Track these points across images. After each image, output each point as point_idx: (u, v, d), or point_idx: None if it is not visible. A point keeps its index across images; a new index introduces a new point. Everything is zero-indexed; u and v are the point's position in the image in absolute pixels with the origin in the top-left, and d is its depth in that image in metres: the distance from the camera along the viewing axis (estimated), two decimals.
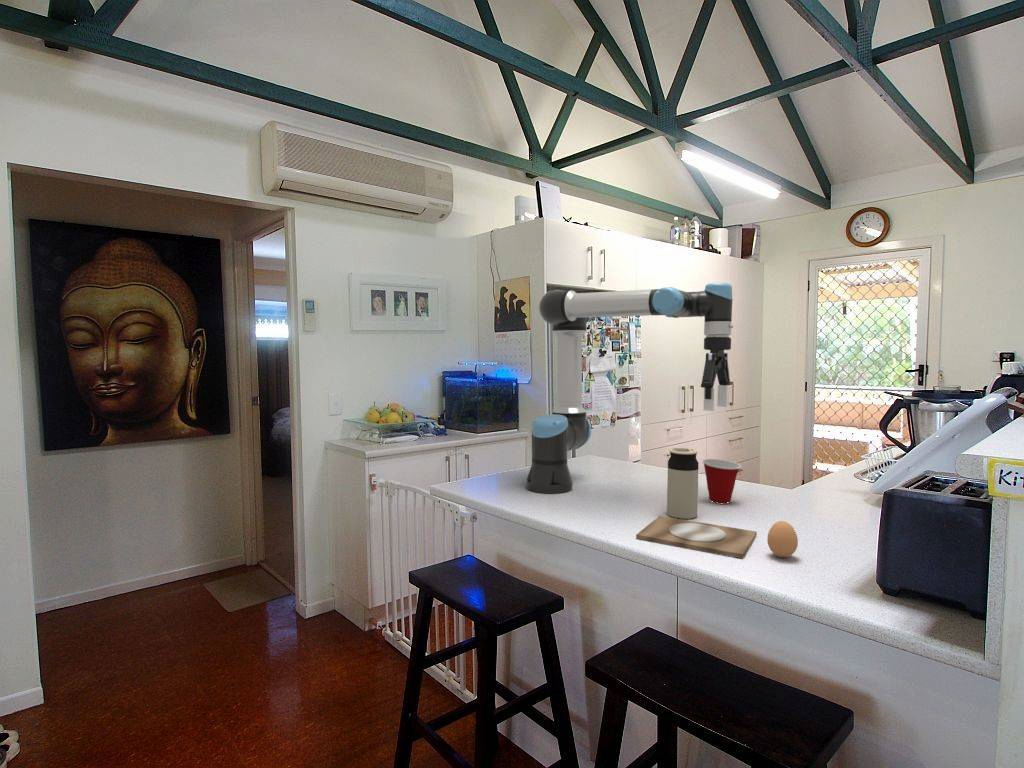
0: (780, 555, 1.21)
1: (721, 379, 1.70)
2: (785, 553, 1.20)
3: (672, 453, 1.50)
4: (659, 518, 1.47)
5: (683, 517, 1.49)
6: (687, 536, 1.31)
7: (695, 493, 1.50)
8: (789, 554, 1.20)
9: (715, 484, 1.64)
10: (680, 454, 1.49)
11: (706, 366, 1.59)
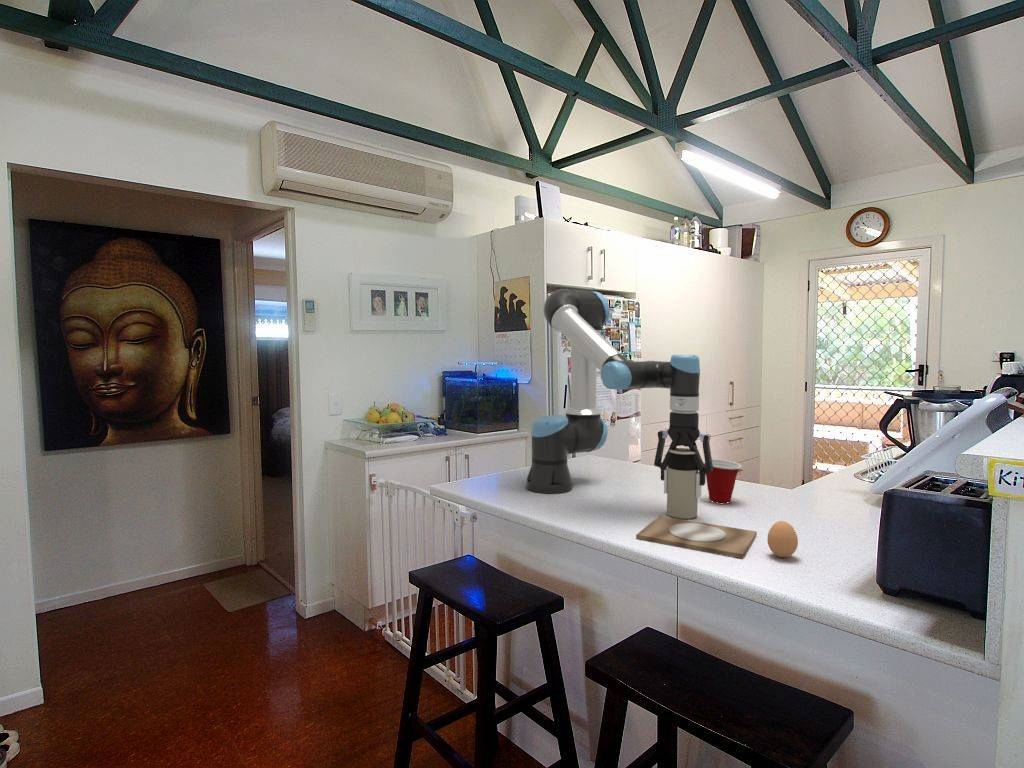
0: (780, 555, 1.21)
1: None
2: (785, 553, 1.20)
3: (672, 452, 1.50)
4: (659, 518, 1.47)
5: (683, 517, 1.49)
6: (687, 536, 1.31)
7: (695, 493, 1.50)
8: (789, 554, 1.20)
9: (715, 484, 1.64)
10: (680, 454, 1.49)
11: None
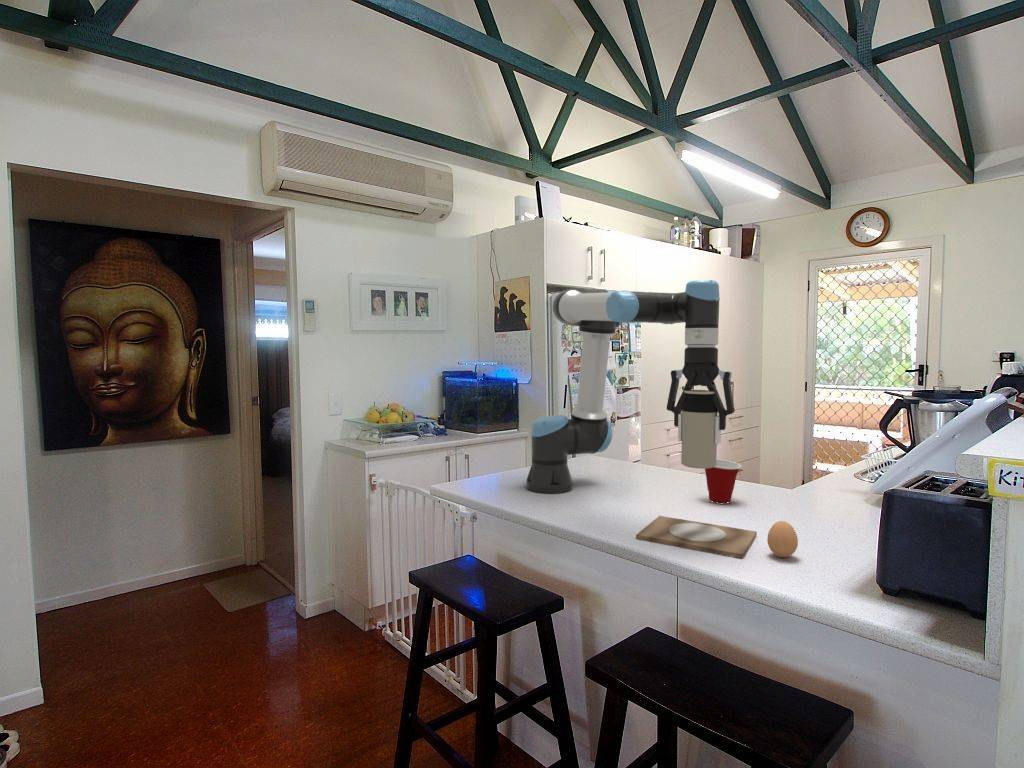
0: (780, 555, 1.21)
1: None
2: (785, 553, 1.20)
3: (688, 393, 1.32)
4: (659, 518, 1.47)
5: (700, 466, 1.30)
6: (687, 536, 1.31)
7: (714, 439, 1.31)
8: (789, 554, 1.20)
9: (715, 484, 1.64)
10: (697, 394, 1.30)
11: None
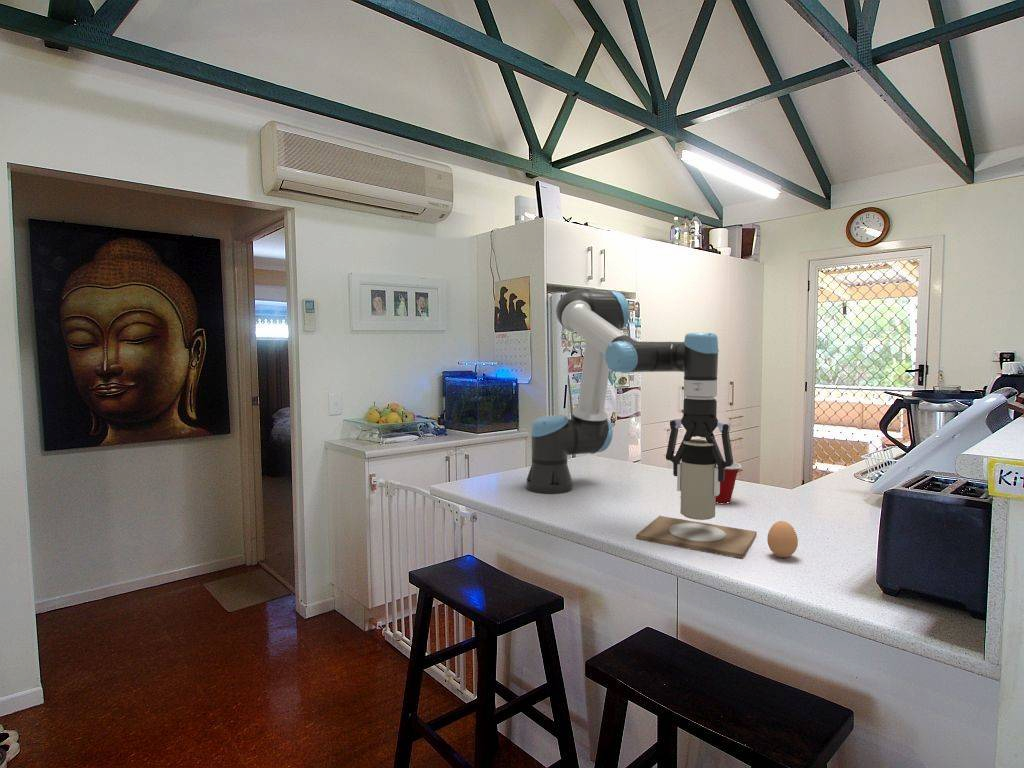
0: (780, 555, 1.21)
1: None
2: (785, 553, 1.20)
3: (687, 444, 1.32)
4: (659, 518, 1.47)
5: (699, 518, 1.31)
6: (687, 536, 1.31)
7: (713, 490, 1.31)
8: (789, 554, 1.20)
9: None
10: (696, 446, 1.31)
11: None
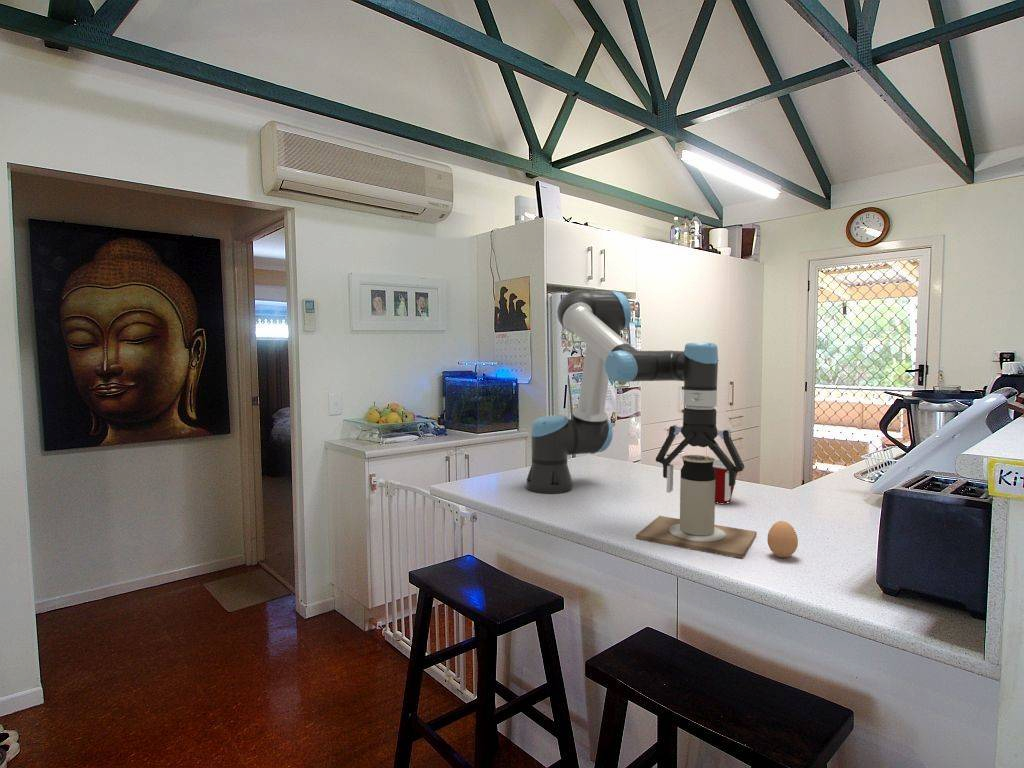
0: (780, 555, 1.21)
1: None
2: (785, 553, 1.20)
3: (686, 460, 1.33)
4: (659, 518, 1.47)
5: (699, 534, 1.31)
6: (687, 536, 1.31)
7: (712, 506, 1.32)
8: (789, 554, 1.20)
9: (715, 484, 1.64)
10: (695, 462, 1.31)
11: None
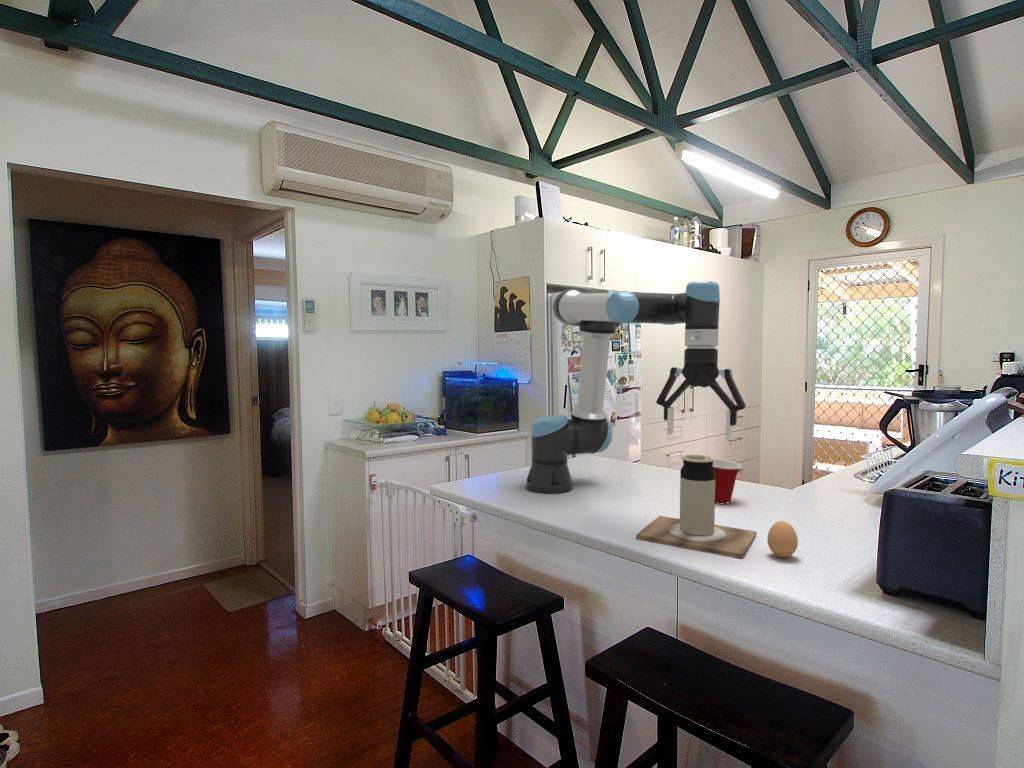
0: (780, 555, 1.21)
1: None
2: (785, 553, 1.20)
3: (686, 460, 1.33)
4: (659, 518, 1.47)
5: (699, 534, 1.31)
6: (687, 536, 1.31)
7: (712, 506, 1.32)
8: (789, 554, 1.20)
9: (715, 484, 1.64)
10: (695, 462, 1.31)
11: None
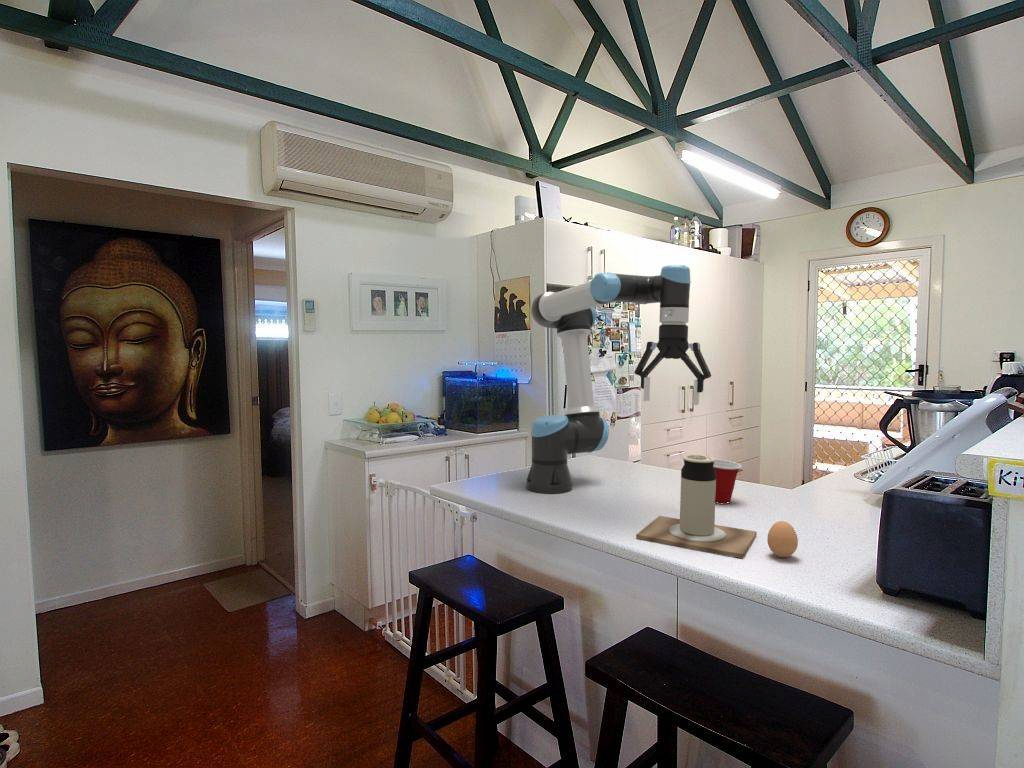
0: (780, 555, 1.21)
1: None
2: (785, 553, 1.20)
3: (687, 460, 1.33)
4: (659, 518, 1.47)
5: (699, 534, 1.31)
6: (687, 536, 1.31)
7: (712, 506, 1.32)
8: (789, 554, 1.20)
9: None
10: (696, 462, 1.31)
11: None
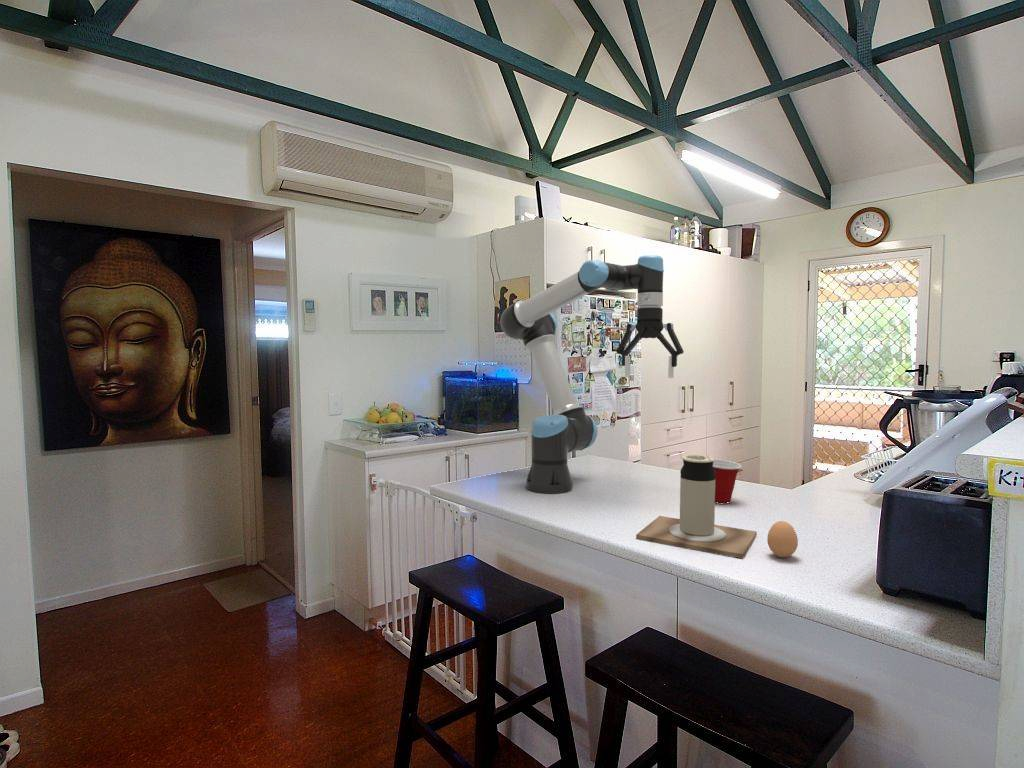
0: (780, 555, 1.21)
1: None
2: (785, 553, 1.20)
3: (686, 460, 1.33)
4: (659, 518, 1.47)
5: (699, 534, 1.31)
6: (687, 536, 1.31)
7: (712, 506, 1.32)
8: (789, 554, 1.20)
9: (715, 484, 1.64)
10: (695, 462, 1.31)
11: None
